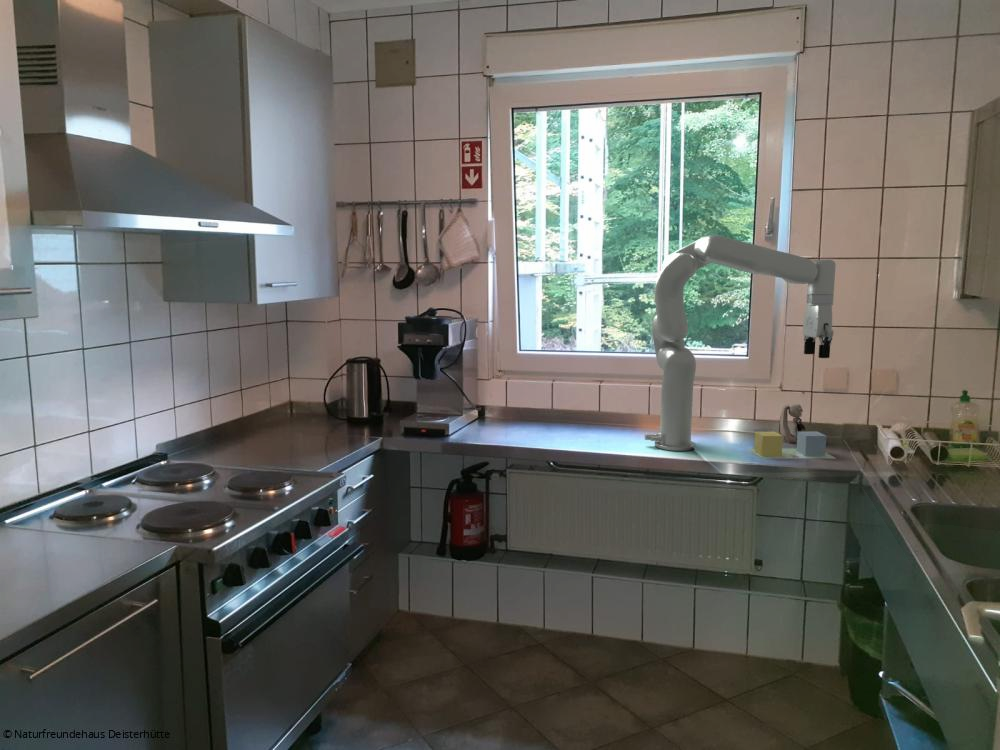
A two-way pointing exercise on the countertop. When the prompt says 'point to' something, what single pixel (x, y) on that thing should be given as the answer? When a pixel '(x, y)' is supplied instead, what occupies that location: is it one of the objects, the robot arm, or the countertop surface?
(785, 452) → the board
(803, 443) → the base brick
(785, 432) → the toy
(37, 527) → the countertop surface
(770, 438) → the brick
